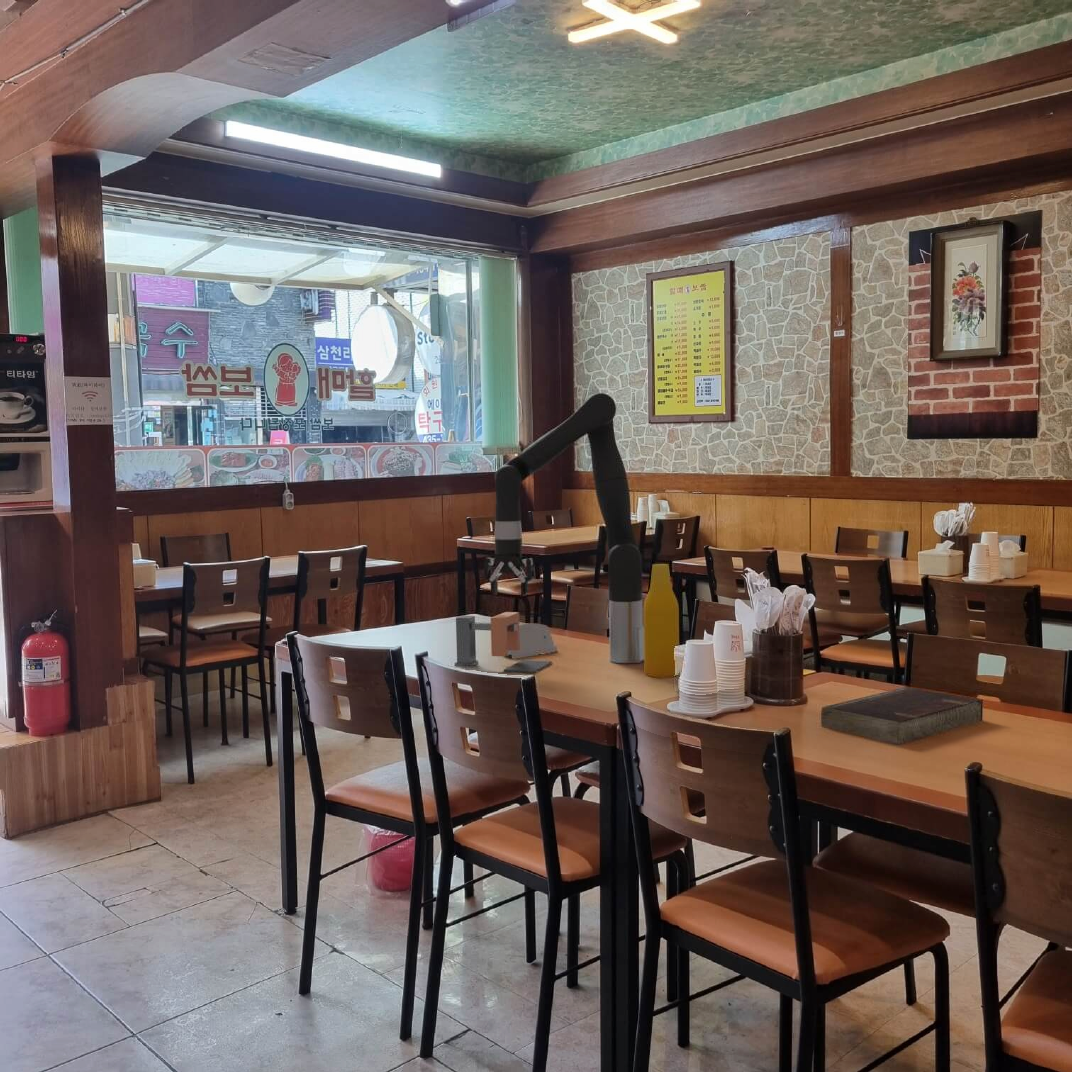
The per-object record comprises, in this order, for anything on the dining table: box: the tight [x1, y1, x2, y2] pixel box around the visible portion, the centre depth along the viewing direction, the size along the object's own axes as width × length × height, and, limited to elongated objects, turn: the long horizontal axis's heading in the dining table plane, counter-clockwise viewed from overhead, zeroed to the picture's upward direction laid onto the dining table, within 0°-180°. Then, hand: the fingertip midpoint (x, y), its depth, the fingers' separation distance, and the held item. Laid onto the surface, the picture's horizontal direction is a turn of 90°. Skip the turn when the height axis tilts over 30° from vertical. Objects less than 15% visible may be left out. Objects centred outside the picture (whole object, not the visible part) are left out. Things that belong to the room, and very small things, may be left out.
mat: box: [503, 659, 553, 674], centre depth 286 cm, size 9×14×1 cm, turn 160°
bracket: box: [454, 615, 517, 668], centre depth 290 cm, size 18×5×14 cm, turn 70°
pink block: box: [490, 611, 520, 658], centre depth 288 cm, size 4×11×10 cm, turn 160°
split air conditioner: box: [507, 623, 559, 660], centre depth 307 cm, size 17×5×10 cm, turn 125°
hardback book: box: [820, 686, 984, 746], centre depth 218 cm, size 29×19×5 cm, turn 126°
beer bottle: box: [643, 563, 680, 679], centre depth 272 cm, size 9×9×29 cm
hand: (509, 595), depth 290 cm, fingers open, 8 cm apart
